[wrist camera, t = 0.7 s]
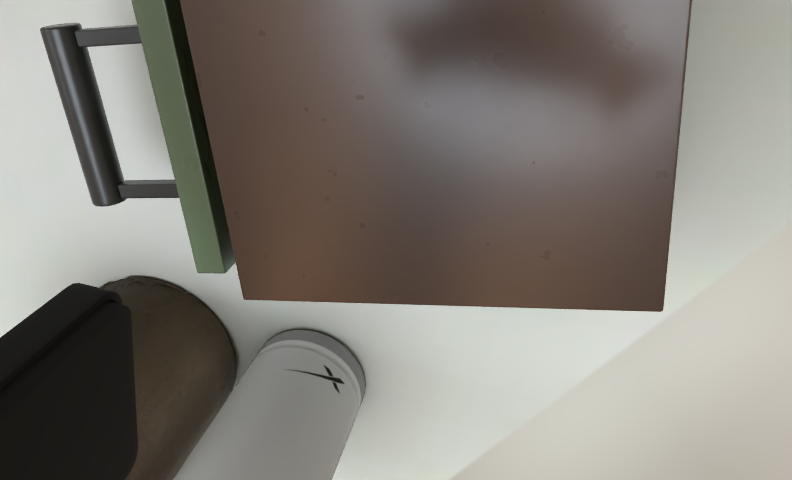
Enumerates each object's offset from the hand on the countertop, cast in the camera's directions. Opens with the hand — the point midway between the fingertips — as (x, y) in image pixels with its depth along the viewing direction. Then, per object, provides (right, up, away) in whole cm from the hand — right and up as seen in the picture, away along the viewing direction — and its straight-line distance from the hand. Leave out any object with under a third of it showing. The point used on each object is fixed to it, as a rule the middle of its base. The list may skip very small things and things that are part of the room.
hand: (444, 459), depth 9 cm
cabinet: (+2, +10, +19) cm, 21 cm away
